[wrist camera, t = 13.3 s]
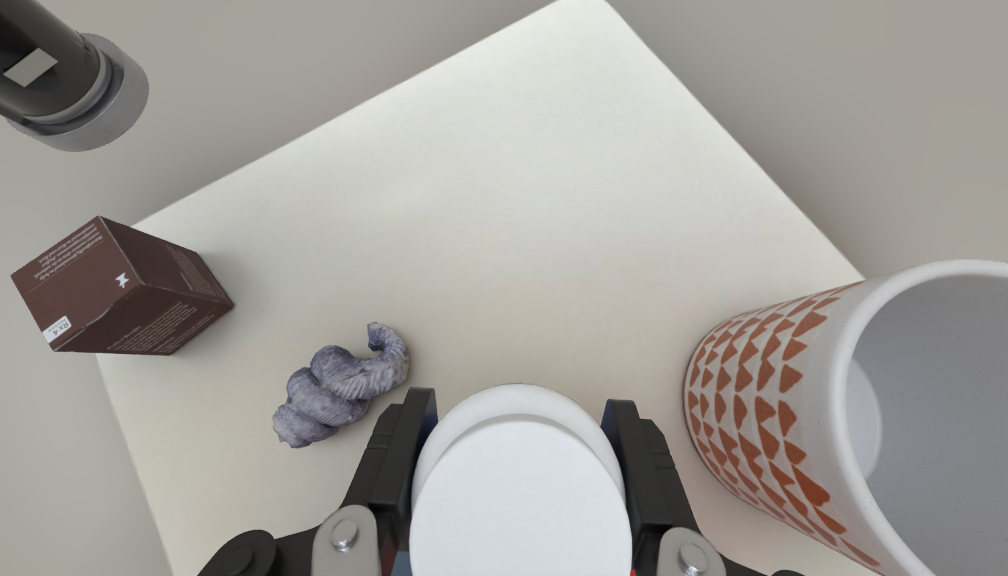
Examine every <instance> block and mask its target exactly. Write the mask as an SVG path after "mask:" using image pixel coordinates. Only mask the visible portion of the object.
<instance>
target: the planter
mask: <svg viewBox="0 0 1008 576" xmlns="http://www.w3.org/2000/svg"><path fill="white" fill-rule="evenodd" d="M683 401H684V411H685V417H686V422H687V425H688V429H689V432H690V435H691V438H692V440H693V442H694V444H695V447H696V449H697V451H698V452H699V454H700V456H701V457H702V459H703V461H704V462H705V464H706V465H707V466H708V468H709V469H710V470H711V472H712V473H713V474H714V475H715V476H716V477H717V478H718V480H719V481H720V482H721V483H722V484H723V485H724V486H726V487H727V488H728V489H729V490H730V491H731V492H733V493H734V494H735V495H736V496H738V497H739V498H741V499H742V500H744V501H745V502H747V503H749V504H750V505H752V506H754V507H755V508H757V509H759V510H761V511H763V512H765V513H766V514H768V515H770V516H772V517H774V518H776V519H778V520H779V521H781V522H783V523H785V524H787V525H789V526H790V527H792V528H794V529H796V530H798V531H800V532H802V533H803V534H805V535H807V536H809V537H811V538H813V539H814V540H816V541H818V542H820V543H822V544H824V545H826V546H827V547H829V548H831V549H833V550H835V551H837V552H838V553H840V554H842V555H844V556H846V557H848V558H850V559H851V560H853V561H855V562H857V563H859V564H861V565H863V566H864V567H866V568H868V569H870V570H872V571H874V572H875V573H877V574H879V575H881V576H1008V264H1007V263H1002V262H997V261H988V260H976V259H957V260H945V261H939V262H933V263H928V264H924V265H919V266H915V267H911V268H907V269H904V270H900V271H896V272H893V273H889V274H886V275H882V276H878V277H875V278H871V279H867V280H863V281H860V282H856V283H852V284H849V285H845V286H841V287H838V288H834V289H830V290H827V291H823V292H819V293H816V294H812V295H808V296H805V297H801V298H798V299H794V300H790V301H787V302H783V303H779V304H776V305H772V306H768V307H765V308H761V309H757V310H754V311H750V312H746V313H743V314H740V315H737V316H735V317H732V318H730V319H728V320H726V321H724V322H723V323H721V324H720V325H718V326H717V327H715V328H714V329H713V330H712V331H711V332H710V333H709V334H708V335H707V336H706V337H705V338H704V339H703V340H702V341H701V343H700V344H699V345H698V347H697V348H696V350H695V352H694V354H693V356H692V358H691V360H690V362H689V365H688V368H687V372H686V376H685V381H684V391H683Z"/></svg>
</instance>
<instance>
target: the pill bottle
mask: <svg viewBox="0 0 1008 576" xmlns="http://www.w3.org/2000/svg"><path fill="white" fill-rule="evenodd" d="M411 511H412V521H411V526H410V538H409V548H410V563H411V569H412V575H413V576H630V572H631V563H632V536H631V530H630V524H629V518H628V514H627V511H626V495H625V487H624V481H623V476H622V473H621V469H620V466H619V463H618V460H617V458H616V456H615V453H614V451H613V449H612V446H611V444H610V442H609V440H608V439H607V437H606V435H605V434H604V432H603V430H602V429H601V428H600V427H599V425H598V424H597V423H596V421H595V420H594V419H593V418H592V417H591V416H590V415H589V414H588V413H587V412H586V411H585V410H584V409H583V408H582V407H580V406H579V405H578V404H576V403H575V402H574V401H572V400H570V399H569V398H567V397H566V396H564V395H562V394H560V393H558V392H555V391H553V390H550V389H548V388H545V387H542V386H538V385H532V384H522V383H514V384H504V385H498V386H494V387H491V388H487V389H485V390H482V391H479V392H477V393H475V394H473V395H471V396H469V397H467V398H466V399H464V400H463V401H461V402H460V403H459V404H457V405H456V406H455V407H453V408H452V409H451V410H450V411H449V412H448V413H447V414H446V415H445V416H444V417H443V418H442V419H441V420H440V421H439V423H438V424H437V425H436V427H435V428H434V429H433V431H432V432H431V434H430V435H429V437H428V439H427V440H426V442H425V444H424V446H423V448H422V451H421V453H420V456H419V458H418V461H417V465H416V468H415V472H414V477H413V482H412V492H411Z"/></svg>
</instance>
